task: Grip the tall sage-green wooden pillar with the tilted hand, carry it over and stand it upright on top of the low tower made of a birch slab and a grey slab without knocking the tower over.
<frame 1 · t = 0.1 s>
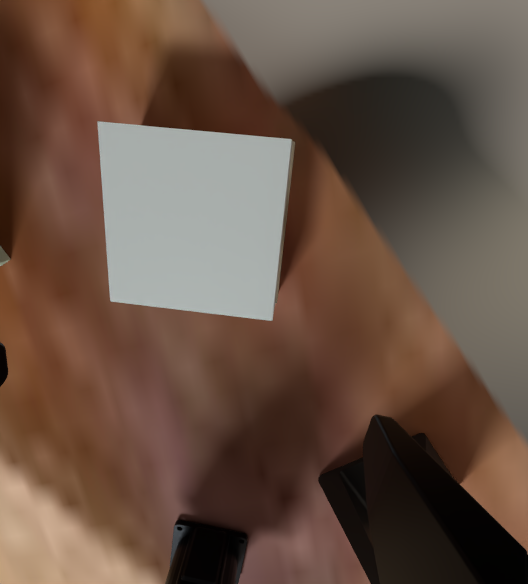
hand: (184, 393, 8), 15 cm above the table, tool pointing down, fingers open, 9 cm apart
top slab: (204, 221, 20), point 2 cm above the table, touching base slab
base slab: (215, 214, 22), on the table, touching top slab
phone stand: (386, 478, 28), on the table
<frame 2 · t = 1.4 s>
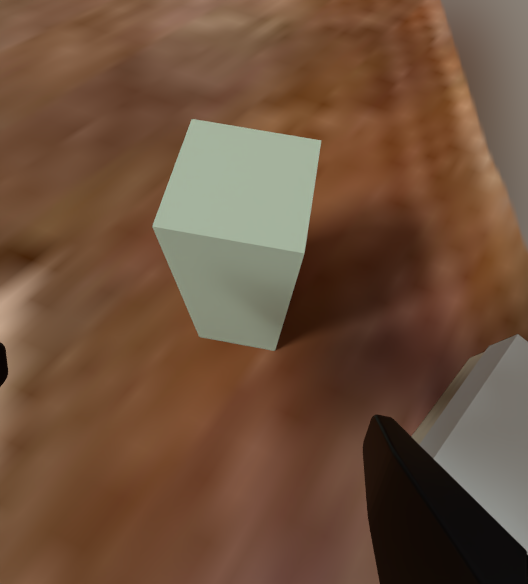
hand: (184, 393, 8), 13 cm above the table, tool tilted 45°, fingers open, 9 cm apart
pillar: (244, 308, 24), on the table
top slab: (521, 461, 19), point 2 cm above the table, touching base slab
base slab: (489, 465, 21), on the table, touching top slab
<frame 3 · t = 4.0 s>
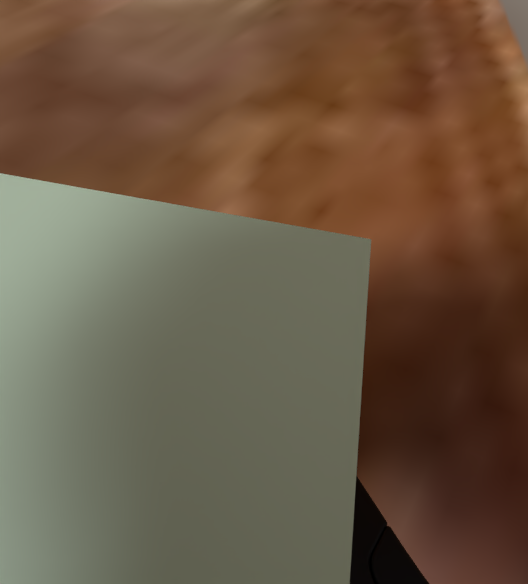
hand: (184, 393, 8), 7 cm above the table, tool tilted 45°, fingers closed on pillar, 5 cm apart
pillar: (201, 452, 14), on the table, touching gripper
when the fingers open (12 cm above the table, at t = 7.9 s): pillar drops 1 cm, resting on top slab.
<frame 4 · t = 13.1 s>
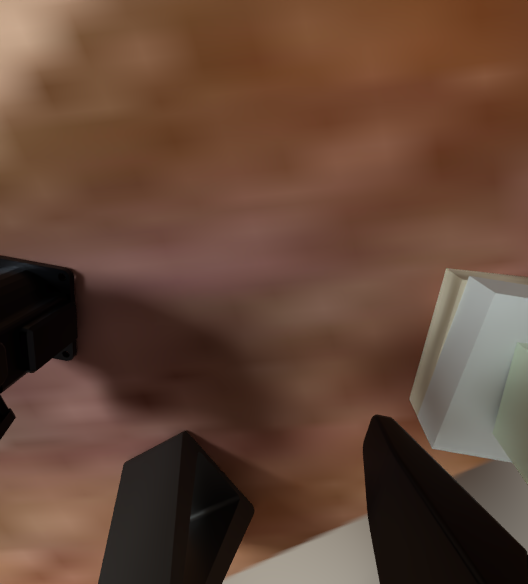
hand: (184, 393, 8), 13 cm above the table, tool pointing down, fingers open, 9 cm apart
top slab: (523, 365, 19), point 2 cm above the table, touching base slab, pillar
base slab: (497, 343, 22), on the table, touching top slab
phone stand: (191, 481, 28), on the table
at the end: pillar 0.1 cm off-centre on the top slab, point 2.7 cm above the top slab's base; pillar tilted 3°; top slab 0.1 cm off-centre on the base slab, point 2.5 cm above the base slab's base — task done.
